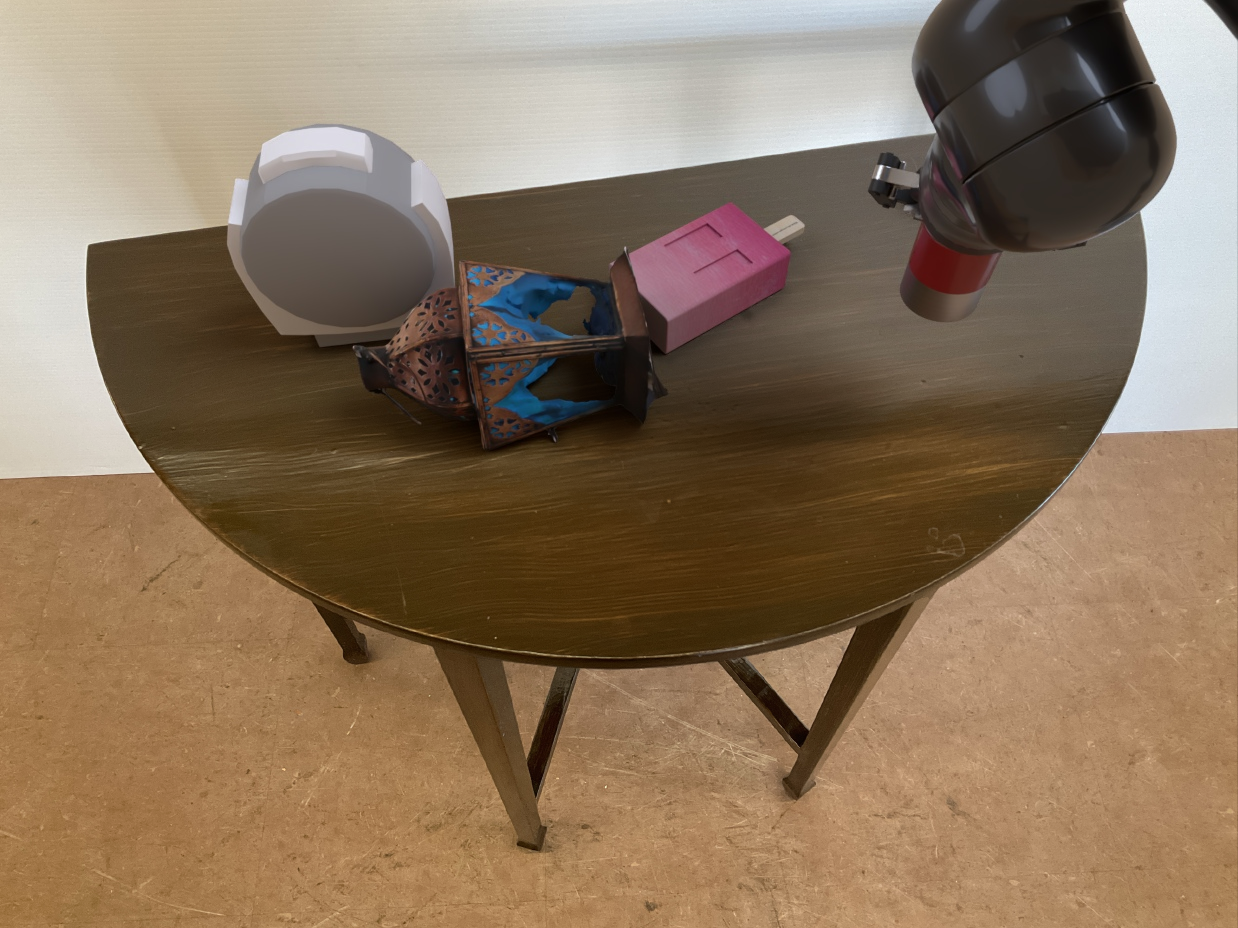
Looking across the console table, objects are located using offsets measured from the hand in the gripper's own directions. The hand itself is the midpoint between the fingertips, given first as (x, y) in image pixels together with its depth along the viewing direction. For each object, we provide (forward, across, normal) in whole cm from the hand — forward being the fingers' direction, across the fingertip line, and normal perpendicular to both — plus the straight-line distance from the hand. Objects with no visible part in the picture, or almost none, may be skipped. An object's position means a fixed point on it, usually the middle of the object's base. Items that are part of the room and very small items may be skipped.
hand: (967, 217), depth 63 cm
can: (+3, 0, +6) cm, 7 cm away
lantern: (+2, +32, +24) cm, 40 cm away
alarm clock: (+3, +49, +22) cm, 54 cm away
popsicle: (+16, +20, +10) cm, 27 cm away
